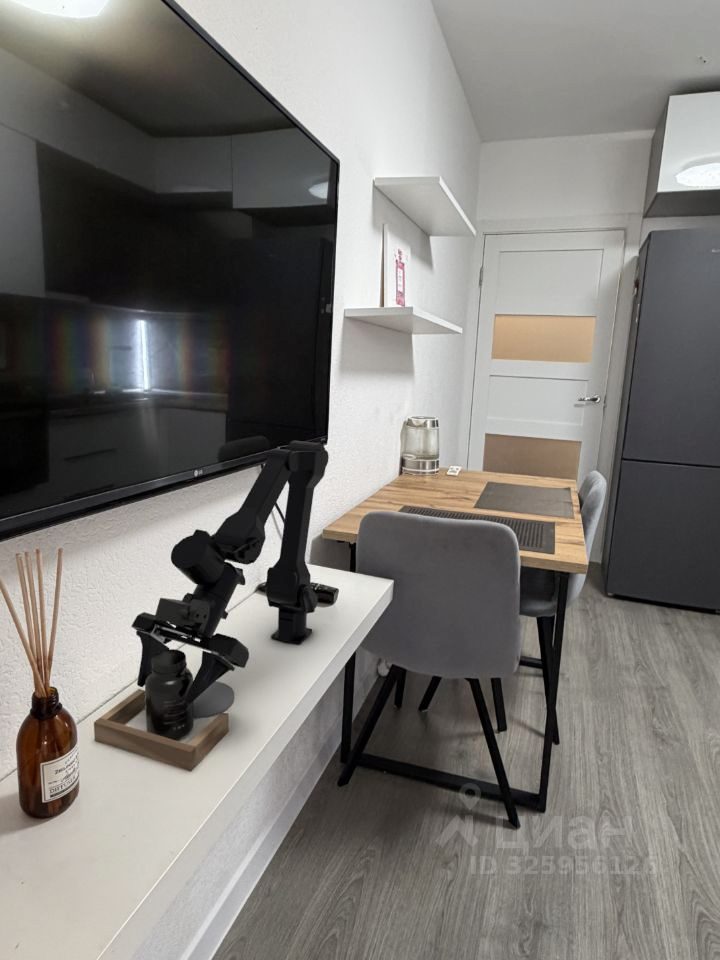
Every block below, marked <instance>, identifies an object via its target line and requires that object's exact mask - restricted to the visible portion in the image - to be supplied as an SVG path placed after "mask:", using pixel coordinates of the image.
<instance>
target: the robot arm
mask: <svg viewBox="0 0 720 960" xmlns="http://www.w3.org/2000/svg"><path fill="white" fill-rule="evenodd" d="M288 443H289V444H288V445H281V446H277V448H273V449H270V450H269V451H268V452H267V455H266V458H265V464H264V465H263V466H262V469H261V470H260V472H259V474H258V476H257V477H256V479H255V481H254V483H253V485H252V486H251V489H250V490H249V492H248V494H247V496H246V497H245V499H244V501H243V503H242V504H241V506H240V508H239V509H238V510H237V511H236V512H234V513H233V514H231V515H230V516H228V517H226V518H225V520H223V522H222V523H221V525H220V526H219V527H218V529H217V530H216V531H215V532H214V533H213V534H212V535H211V534H210V533H209V532H208V531H206V530H204V529H203V530H202V529H199V528H198V529H195V530H194V532H193V533H192V535H188V536H186V537H184V538H182V539H181V540H180V541H179V542H178V543H177V544H175V545H174V546H173V547H172V551H171V554H170V560H171V563H172V565H173V566H174V567H175V568H176V569H177V570H178V571H180V572H181V573H182V574H183V575H184V576H185V577H186V578H187V579H188V580H189V581H191V583H192V584H195V585H196V586H195V589H194V590H193V593H191V592H187V593H186V594H184V595H183V598H182V599H181V600H180V599H173V598H166V597H159V601H158V604H157V606H156V607H157V608H156V612H155V614H152V613H148V612H141V613H139V614H137V616H136V617H135V618H134V620H133V622H132V624H131V628H133V629H134V630H136V633H135V634H136V636H137V637H138V638H139V639H140V642H141V658H140V664H139V671H138V677H137V686H138V687H140V688H143V687H145V681H146V678H147V676H148V675H149V674H150V673H151V672H152V671H151V666H152V658H153V656H154V655H155V654H156V653H158V652H161V651H164V650H170V647H168V646H167V644H168V643H170V642H172V641H175V642H178V643H182V644H185V645H188V646H191V647H194V648H198V649H202V654H201V665H200V666H199V669H198V671H197V673H196V674H195V676H194V678H193V683H192V685H191V687H190V689H189V691H188V694H187V696H186V699H185V702H186V703H188V704H191V703H192V702H193V701H194V700H195V699H196V698H197V697H198V696H199V695H201V694H202V693H203V692H204V691H205V690H206V689H207V688H208V687H209V686H210V685H211V684H213V683H214V682H215V681H218V680H219V679H220V678H221V677H223V676H224V675H225V674H227V673H229V672H235V670H236V667H238V668H241V669H244V668H246V665H247V663H248V660H249V659H250V652H249V648H248V647H247V646H246V645H244V644H243V643H242V642H241V641H240V640H238V639H237V638H236V637H233V636H229V635H226V634H222V633H218V632H216V630H217V628H218V626H219V624H220V622H221V620H222V619H223V620H225V621H226V620H227V618H228V615H229V613H228V612H227V611H226V609H227V607H228V606H229V603H230V601H231V600H232V599H231V598H232V597H233V595H234V592H235V590H236V587H237V586H238V585H240V586H245V585H246V577H245V575H244V570H243V568H240V567H235V565H233V564H232V563H231V562H234V563H237V564H242V565H246V566H247V565H250V564H254V563H255V562H256V561H257V560H258V558H259V557H260V555H261V553H262V549H263V548H264V543H265V541H266V530H265V526H266V524H267V520H268V519H269V517H270V515H271V513H272V511H273V509H274V507H275V506H276V504H277V501H278V499H279V498H280V496H281V494H282V492H283V491H284V488H285V486H286V484H288V491H287V500H286V507H285V512H284V515H285V516H284V522H283V530H282V536H281V543H280V545H281V546H280V553H279V557H278V558H279V559H277V561H276V562H275V563H274V564H273V566H269V567H268V569H267V570H266V571H267V572H266V581H265V585H264V588H265V589H264V590H265V596H266V599H267V603H268V606H269V607H271V608H277V609H278V614H277V616H278V617H277V630H276V631H274V632H273V633H272V634H271V635H270V639H272V640H276V641H280V642H281V641H282V642H287V643H289V644H294V645H301V644H302V643H303V642H304V641H305V640H306V639H308V637H309V636H310V635H311V634H312V633H313V632H312V631H314V630H313V629H312V628H309V627H307V619H308V614H312V613H315V611H316V610H315V609H316V608H317V605H318V600H319V596H318V595H317V594H316V592H315V591H314V589H313V588H312V586H311V577H312V576H311V573H310V571H309V568H308V566H307V563H306V562H305V560H306V559H305V558H306V554H307V551H306V550H307V543H308V538H309V537H308V535H309V529H310V522H311V513H312V507H313V499H314V494H315V493H314V491H315V488H316V487H317V485H319V483H320V482H321V480H322V479H323V478H324V476H325V473H326V468H327V465H328V463H329V456H330V455H329V453H328V451H327V450H326V448H325V446H324V444H322V443H319V442H317V443H316V442H310V441H309V442H308V441H300V440H291V441H290V442H288ZM215 632H216V633H215ZM195 639H196V640H195ZM198 640H199V641H198Z"/></svg>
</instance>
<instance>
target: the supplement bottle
mask: <svg viewBox="0 0 720 960" xmlns="http://www.w3.org/2000/svg"><path fill="white" fill-rule="evenodd" d="M151 671H152V672H151V673H150V674H149V675H148V676H147V678H146V681H145V685H144V691H145V704H146V708H145V720H146V721H145V723H146V725H145V726H146V732H149V733H152V734H156V735H159V736H162V737H165V738H169V739H172V740H175V741H179V740H181V739H184V738H185V737H186V736H188V735H189V734H190V733H191V731H192V730H193V728H194V725H195V718H194V701H193V702H192V703H191V704H188V703H186V702H185V699H186V696H187V694H188V691H189V689H190V687H191V685H192V683H193V681H194V676H193V673H192V671H191V670H190V669H189V668H188V666H187V655H186V653H185V652H184V651H182V650H180V649H172V648H171V649H170V648H169V650H164V651H161V652H158V653H156V654H155V655H154V656H153V658H152V666H151Z"/></svg>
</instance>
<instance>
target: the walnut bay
mask: <svg viewBox="0 0 720 960" xmlns="http://www.w3.org/2000/svg"><path fill="white" fill-rule="evenodd" d="M143 710H146V700H145V689H141V688H138V689H137V690H136V691H134V692H132V693H131V694H130V695H128V696H127V697H126V698H124V699H123V700H122V701H120V702H119V703H118V704H116V705H115V706H114V707H113V708H111V709H110V710H108V711H107V712H105V713H104V714H103V715H101V716H100V717H98V718H97V719H96V720H95V721H93V731H94V732H93V733H94V741H95V742H98V743H101V744H104V745H107V746H109V747H110V746H111V747H113V748H117V749H120V750H122V751H126V752H129V753H132V754H135V755H138V756H140V757H145V758H148V759H151V760H154V761H157V762H160V763H163V764H167V765H169V766H173V767H176V768H179V769H182V770H184V771H188V772H192V770H193V769H195V768H196V767H197V765H198V764H199V763H201V761H202V760H203V759H204V758H205V757H206V756H207V755H208V754H209V753H210V752H212V750H213V749H214V748H215V746H217V744H218V743H220V742H221V741H222V739H224V737H225V736H226V735H227V734H228V733H229V728H230V726H229V725H230V724H229V722H230V720H229V718H230V716H229V713H227V712H225V711H224V712H221V713H220V714H218V715H216V717H214V719H213V720H212V721H211V722H210V723H208V725H207V726H206V727H205V728H203V730H202V731H200V732H199V733H198V734H197V735H196V736H195V737H194V738H193V739H192V740H191V741H190V742H189V743H185V742H183V741H179V740H176V741H175V740H172V739H169V738H165V737H162V736H159V735H156V734H152V733H149V732H147V730H146V731H145V730H142V729H139V728H136V727H132V726H130V725H126V724H127V723H129V721H132V719H134V718H135V717H136V716H137V715H138V714H139V713H141V712H142V711H143Z"/></svg>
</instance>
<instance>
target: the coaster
mask: <svg viewBox="0 0 720 960" xmlns="http://www.w3.org/2000/svg"><path fill="white" fill-rule="evenodd" d="M235 696H236V695H235V691H234V689H233V688H232V687H231V686H230V685H228V684H226V683H224V682H221V681H218V680H216V681H215V682H214V683H213V684H211V685H210V686H209V687H208V688H207V689H206V690H205V691H204V692H203V693H202V694H201V695H199V696H198V697H197V698H196V699H195V700H194V719H206V718H210V717H215V716H218V715H219V714H220V713H221V712H224V713H225V712H226V711H228V710H229V709H231V707H232V705H233V704H234V702H235V698H236V697H235Z"/></svg>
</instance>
